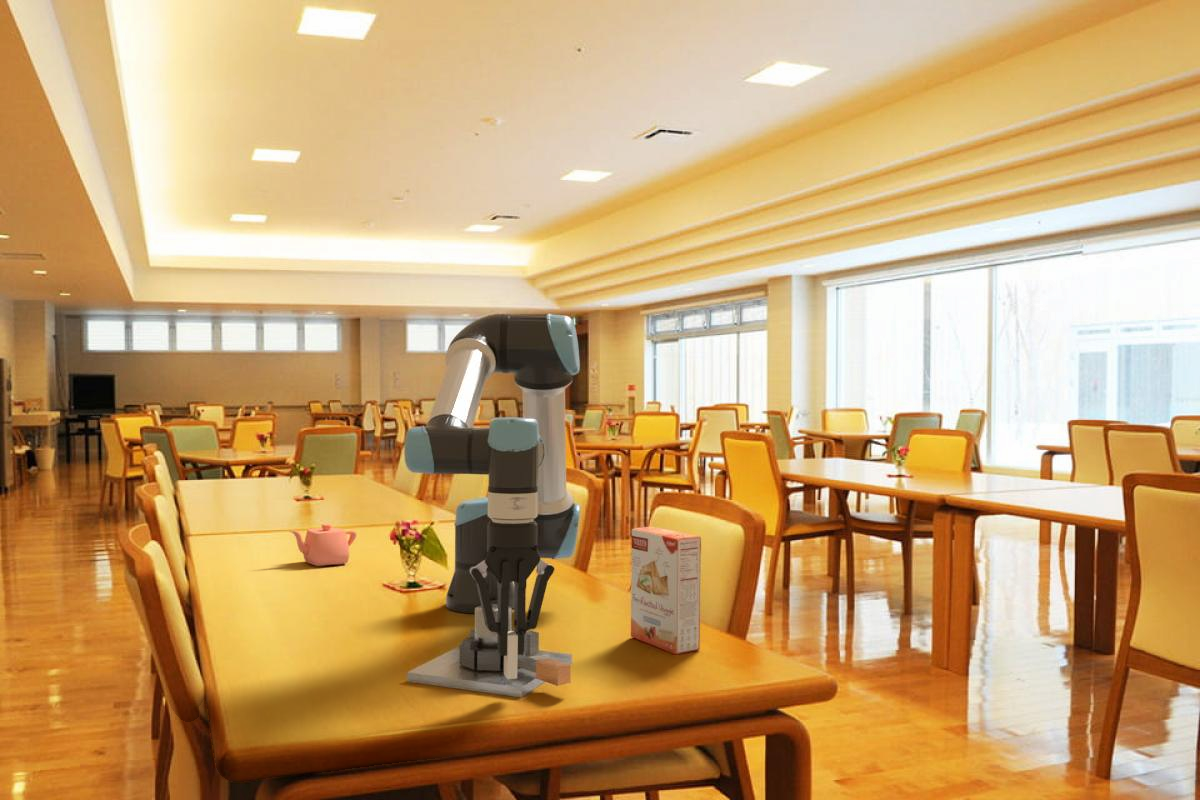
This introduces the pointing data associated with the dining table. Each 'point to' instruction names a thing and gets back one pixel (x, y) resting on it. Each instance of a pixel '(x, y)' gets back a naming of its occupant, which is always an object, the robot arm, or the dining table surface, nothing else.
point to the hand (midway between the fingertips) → (510, 676)
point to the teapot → (325, 545)
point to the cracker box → (666, 589)
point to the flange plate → (489, 681)
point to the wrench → (493, 661)
